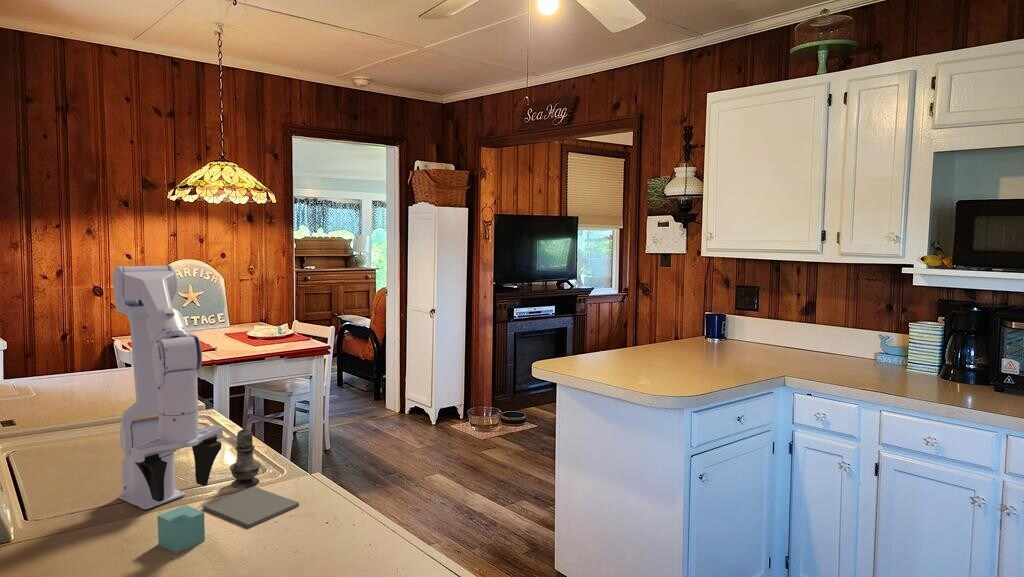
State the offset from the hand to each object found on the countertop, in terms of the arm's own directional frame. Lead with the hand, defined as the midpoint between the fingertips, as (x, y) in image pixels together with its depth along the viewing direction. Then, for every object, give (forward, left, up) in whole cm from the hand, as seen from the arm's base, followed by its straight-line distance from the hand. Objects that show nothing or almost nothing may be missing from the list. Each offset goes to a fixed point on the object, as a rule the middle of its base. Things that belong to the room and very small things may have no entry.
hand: (180, 491), depth 110 cm
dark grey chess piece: (-13, +22, -9) cm, 26 cm away
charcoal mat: (-2, +15, -9) cm, 17 cm away
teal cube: (0, 0, -9) cm, 9 cm away
